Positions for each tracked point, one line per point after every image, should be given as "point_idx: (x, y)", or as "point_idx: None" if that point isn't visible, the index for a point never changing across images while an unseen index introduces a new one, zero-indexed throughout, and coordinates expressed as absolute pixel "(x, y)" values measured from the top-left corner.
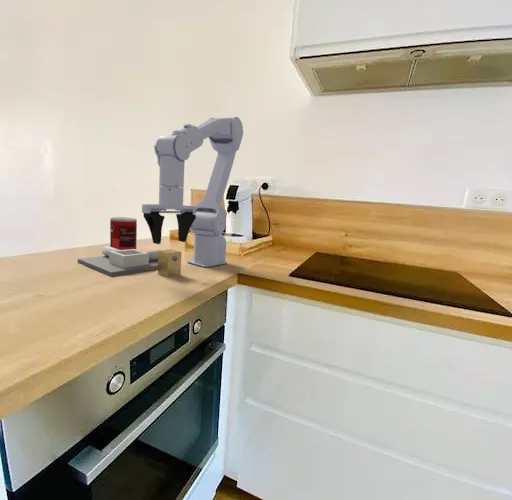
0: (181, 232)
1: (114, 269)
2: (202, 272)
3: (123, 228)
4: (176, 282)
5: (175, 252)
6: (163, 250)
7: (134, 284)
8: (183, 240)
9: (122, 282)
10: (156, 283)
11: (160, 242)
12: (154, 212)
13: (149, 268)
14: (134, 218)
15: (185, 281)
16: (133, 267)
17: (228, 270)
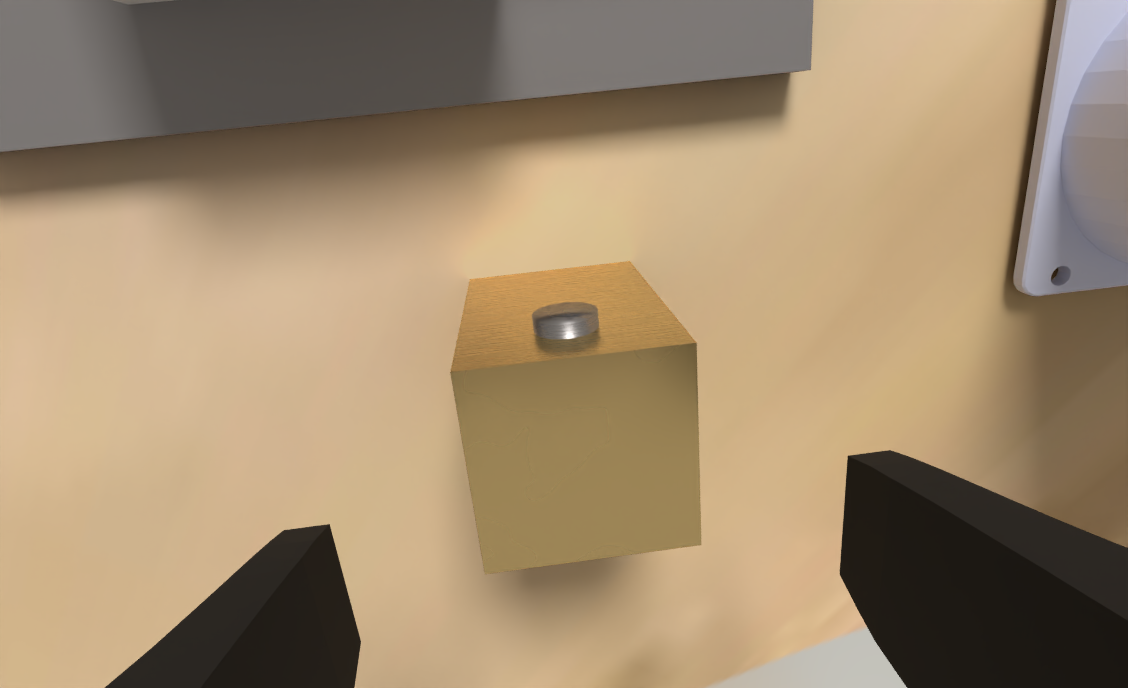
0: (958, 633)
1: (1, 36)
2: (855, 422)
3: None
4: (478, 575)
5: (604, 557)
6: (530, 387)
7: (150, 491)
8: (851, 587)
9: (63, 399)
10: None
11: (353, 670)
12: None
13: (451, 106)
14: None
15: (553, 581)
16: (254, 50)
17: (1088, 465)
